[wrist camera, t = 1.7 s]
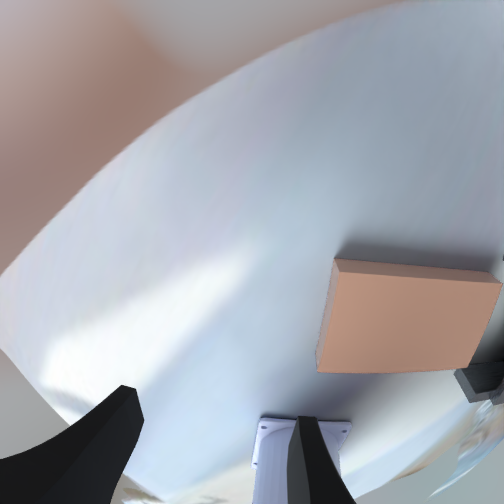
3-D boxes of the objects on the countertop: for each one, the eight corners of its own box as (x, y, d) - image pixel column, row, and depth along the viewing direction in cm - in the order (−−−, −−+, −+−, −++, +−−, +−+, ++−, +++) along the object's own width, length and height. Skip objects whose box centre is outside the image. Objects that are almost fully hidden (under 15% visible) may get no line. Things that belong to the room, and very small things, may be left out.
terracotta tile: (455, 349, 19) (466, 367, 17) (314, 349, 20) (317, 372, 18) (485, 269, 16) (502, 283, 14) (332, 255, 17) (339, 271, 15)
